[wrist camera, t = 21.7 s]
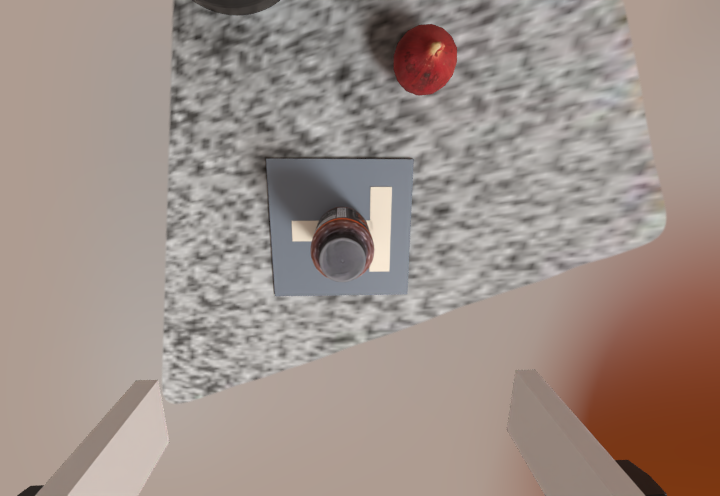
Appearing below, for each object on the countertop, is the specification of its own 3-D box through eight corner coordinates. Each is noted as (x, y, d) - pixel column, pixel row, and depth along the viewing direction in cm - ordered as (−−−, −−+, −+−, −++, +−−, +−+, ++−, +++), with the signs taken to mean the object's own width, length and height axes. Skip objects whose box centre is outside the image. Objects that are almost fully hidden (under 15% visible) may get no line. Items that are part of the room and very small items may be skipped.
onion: (432, 107, 37) (455, 97, 30) (381, 89, 37) (391, 73, 29) (452, 49, 36) (482, 23, 28) (399, 29, 35) (416, -4, 28)
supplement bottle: (377, 241, 41) (390, 275, 30) (332, 264, 41) (329, 306, 30) (353, 195, 39) (357, 214, 28) (306, 220, 40) (293, 248, 29)
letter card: (266, 158, 38) (265, 158, 38) (413, 159, 39) (413, 159, 38) (275, 295, 42) (274, 296, 42) (406, 293, 43) (407, 294, 43)
